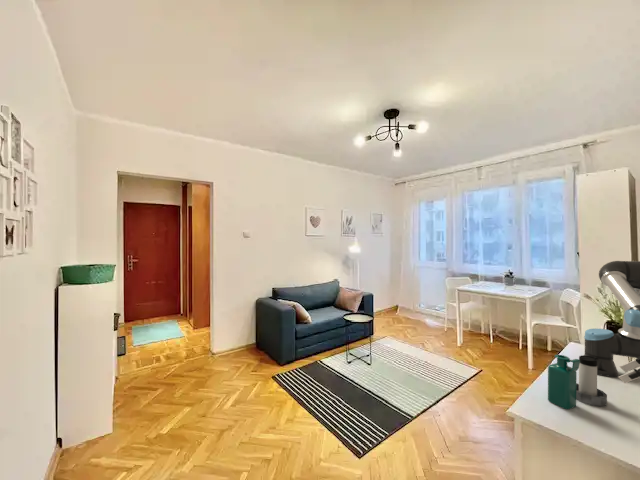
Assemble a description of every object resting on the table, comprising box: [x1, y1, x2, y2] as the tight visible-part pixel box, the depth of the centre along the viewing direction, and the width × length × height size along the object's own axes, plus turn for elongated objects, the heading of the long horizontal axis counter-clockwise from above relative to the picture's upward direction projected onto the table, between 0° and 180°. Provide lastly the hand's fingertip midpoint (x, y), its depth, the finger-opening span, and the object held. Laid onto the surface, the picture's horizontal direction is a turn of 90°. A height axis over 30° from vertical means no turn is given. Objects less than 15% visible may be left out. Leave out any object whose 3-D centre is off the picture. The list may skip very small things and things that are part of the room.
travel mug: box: [578, 355, 598, 396], centre depth 132 cm, size 6×7×20 cm
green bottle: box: [547, 354, 580, 410], centre depth 127 cm, size 10×8×22 cm
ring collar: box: [576, 382, 608, 408], centre depth 132 cm, size 12×12×4 cm
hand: (621, 374), depth 124 cm, fingers open, 13 cm apart
